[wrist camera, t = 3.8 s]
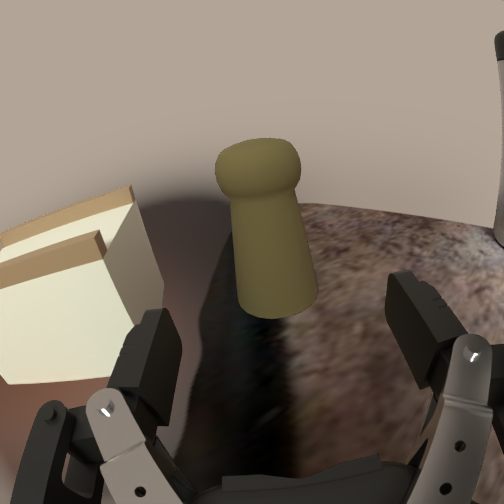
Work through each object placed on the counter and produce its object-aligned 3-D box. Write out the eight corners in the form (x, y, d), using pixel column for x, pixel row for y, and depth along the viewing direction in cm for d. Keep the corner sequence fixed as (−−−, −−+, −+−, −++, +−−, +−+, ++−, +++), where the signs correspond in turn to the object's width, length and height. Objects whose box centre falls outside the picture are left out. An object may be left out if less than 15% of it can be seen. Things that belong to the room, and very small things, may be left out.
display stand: (164, 283, 26) (131, 184, 21) (157, 368, 17) (93, 237, 13) (43, 311, 25) (3, 231, 20) (8, 384, 16) (-56, 290, 11)
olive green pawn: (222, 308, 22) (182, 157, 16) (260, 264, 26) (237, 136, 21) (300, 326, 19) (278, 148, 13) (328, 274, 23) (317, 130, 18)
